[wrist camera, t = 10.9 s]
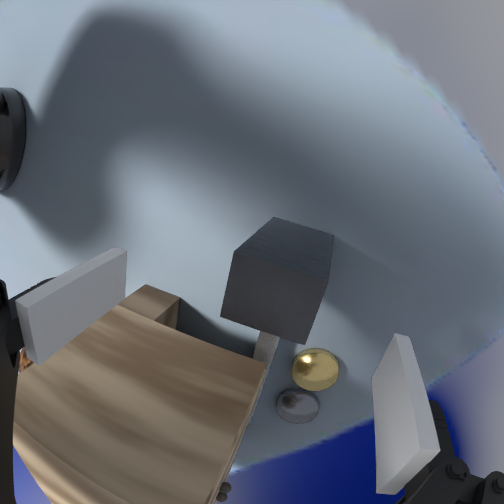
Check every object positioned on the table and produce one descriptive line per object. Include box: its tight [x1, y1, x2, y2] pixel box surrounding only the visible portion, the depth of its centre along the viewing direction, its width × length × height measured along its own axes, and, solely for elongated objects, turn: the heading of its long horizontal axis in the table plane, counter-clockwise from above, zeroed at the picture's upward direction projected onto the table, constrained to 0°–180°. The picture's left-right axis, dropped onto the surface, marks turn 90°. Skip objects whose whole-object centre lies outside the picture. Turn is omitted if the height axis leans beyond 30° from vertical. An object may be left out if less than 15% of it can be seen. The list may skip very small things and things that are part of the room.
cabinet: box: [13, 284, 266, 504], centre depth 23 cm, size 18×15×20 cm
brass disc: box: [292, 348, 339, 391], centre depth 28 cm, size 4×4×1 cm
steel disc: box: [276, 389, 319, 424], centre depth 30 cm, size 4×4×1 cm
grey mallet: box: [220, 217, 333, 425], centre depth 24 cm, size 22×5×10 cm, turn 167°
